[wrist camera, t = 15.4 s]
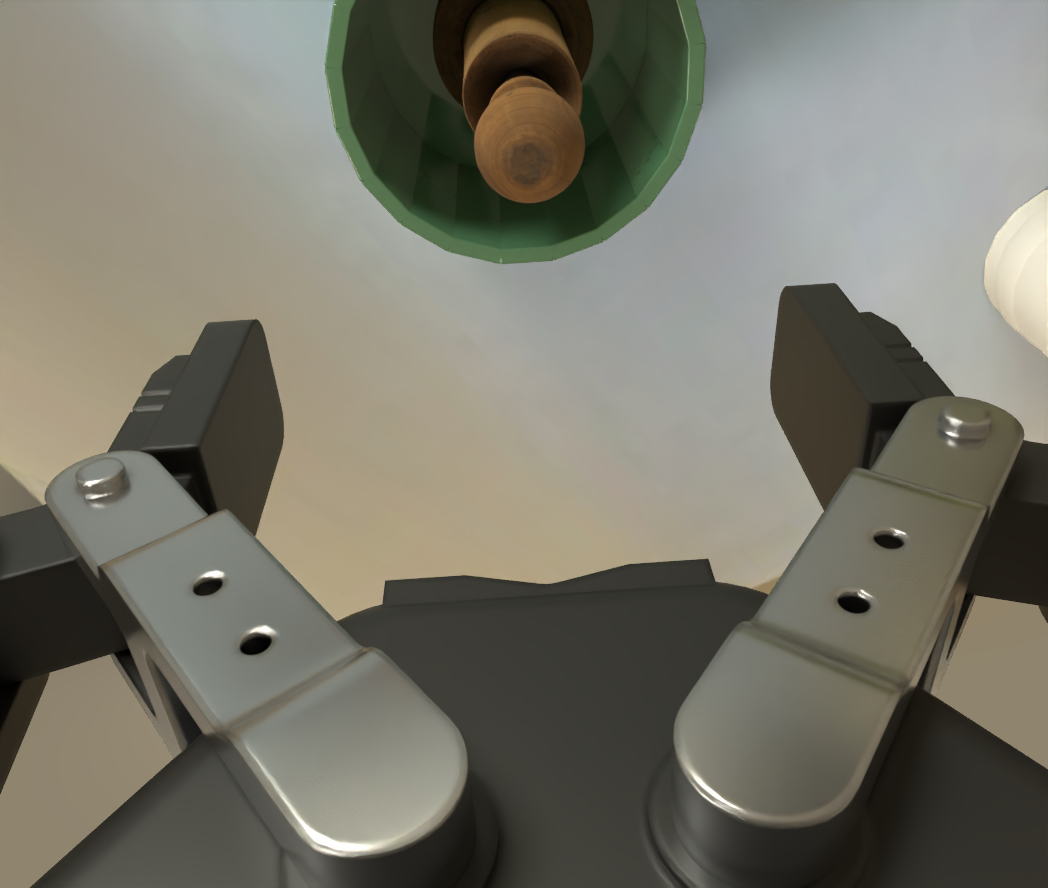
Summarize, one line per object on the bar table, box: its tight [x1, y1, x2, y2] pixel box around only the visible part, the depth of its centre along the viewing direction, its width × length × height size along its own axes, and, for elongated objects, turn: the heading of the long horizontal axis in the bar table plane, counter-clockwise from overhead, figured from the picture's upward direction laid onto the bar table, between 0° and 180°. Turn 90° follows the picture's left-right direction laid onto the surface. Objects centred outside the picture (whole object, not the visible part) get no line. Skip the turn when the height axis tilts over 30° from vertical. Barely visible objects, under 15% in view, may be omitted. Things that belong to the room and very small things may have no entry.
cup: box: [325, 0, 706, 264], centre depth 36 cm, size 13×13×10 cm
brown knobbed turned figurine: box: [433, 0, 593, 203], centre depth 32 cm, size 7×6×18 cm
